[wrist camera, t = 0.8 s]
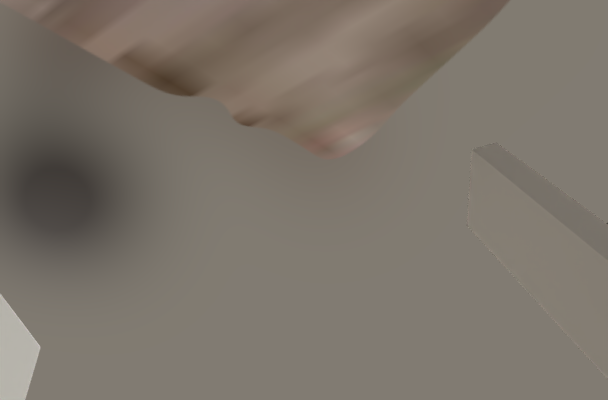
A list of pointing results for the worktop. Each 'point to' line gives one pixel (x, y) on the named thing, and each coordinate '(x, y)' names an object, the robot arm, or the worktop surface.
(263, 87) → the worktop surface
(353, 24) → the worktop surface
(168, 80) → the worktop surface
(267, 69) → the worktop surface
